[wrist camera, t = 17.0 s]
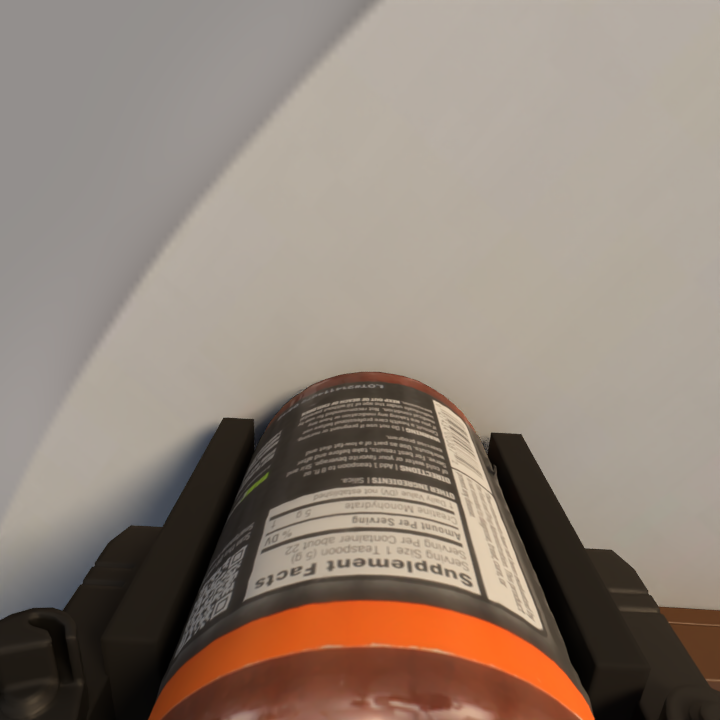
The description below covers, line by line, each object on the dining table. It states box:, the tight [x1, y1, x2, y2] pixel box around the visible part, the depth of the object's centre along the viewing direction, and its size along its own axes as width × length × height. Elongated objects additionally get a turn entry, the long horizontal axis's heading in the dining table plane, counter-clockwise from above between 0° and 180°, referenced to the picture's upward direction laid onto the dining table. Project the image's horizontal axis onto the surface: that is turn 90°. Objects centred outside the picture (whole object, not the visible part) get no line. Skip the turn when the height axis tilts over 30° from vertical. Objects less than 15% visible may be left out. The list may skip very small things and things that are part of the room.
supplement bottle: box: [148, 372, 595, 720], centre depth 9 cm, size 6×6×11 cm
